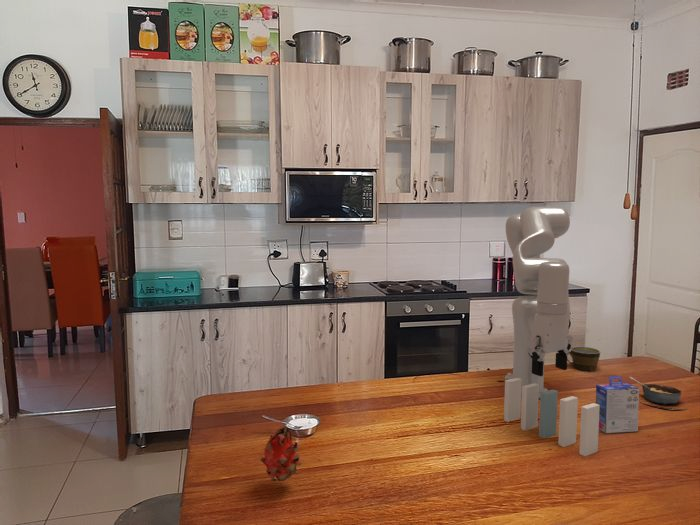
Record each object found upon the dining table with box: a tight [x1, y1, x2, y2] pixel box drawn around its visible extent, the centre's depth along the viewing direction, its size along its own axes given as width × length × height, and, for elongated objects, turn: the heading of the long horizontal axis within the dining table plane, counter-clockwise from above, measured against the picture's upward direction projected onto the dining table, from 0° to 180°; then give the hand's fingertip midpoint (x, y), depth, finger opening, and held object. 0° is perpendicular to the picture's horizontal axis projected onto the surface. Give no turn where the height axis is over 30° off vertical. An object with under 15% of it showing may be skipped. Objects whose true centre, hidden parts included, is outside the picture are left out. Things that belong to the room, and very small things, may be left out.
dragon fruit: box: [260, 427, 302, 482], centre depth 112 cm, size 8×8×12 cm
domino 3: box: [538, 389, 559, 439], centre depth 137 cm, size 2×5×12 cm, turn 122°
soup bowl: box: [629, 376, 686, 411], centre depth 161 cm, size 15×16×7 cm
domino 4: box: [557, 395, 579, 448], centre depth 132 cm, size 2×5×12 cm, turn 121°
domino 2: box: [520, 383, 539, 431], centre depth 142 cm, size 2×5×12 cm, turn 121°
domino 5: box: [578, 402, 600, 457], centre depth 126 cm, size 2×5×12 cm, turn 122°
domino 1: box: [503, 378, 522, 423], centre depth 147 cm, size 2×5×12 cm, turn 122°
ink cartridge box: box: [595, 375, 640, 434], centre depth 141 cm, size 10×6×14 cm, turn 98°
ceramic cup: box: [567, 346, 601, 373], centre depth 189 cm, size 13×10×10 cm
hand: (549, 371), depth 136 cm, fingers open, 9 cm apart
